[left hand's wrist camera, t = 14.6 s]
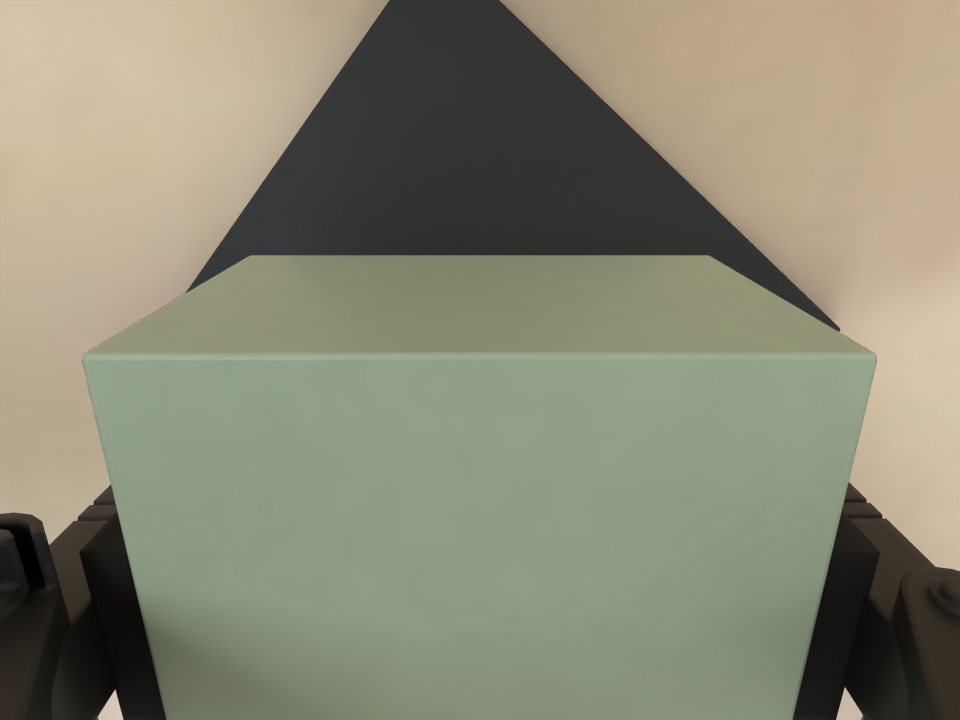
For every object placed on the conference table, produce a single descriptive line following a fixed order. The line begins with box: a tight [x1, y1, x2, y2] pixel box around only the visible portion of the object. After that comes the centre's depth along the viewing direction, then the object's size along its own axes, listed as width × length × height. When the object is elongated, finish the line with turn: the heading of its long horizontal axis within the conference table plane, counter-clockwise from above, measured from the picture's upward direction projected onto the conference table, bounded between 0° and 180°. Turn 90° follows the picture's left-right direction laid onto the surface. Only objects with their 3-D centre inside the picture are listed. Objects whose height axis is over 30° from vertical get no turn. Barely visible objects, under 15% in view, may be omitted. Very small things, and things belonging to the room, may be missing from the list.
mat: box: [185, 0, 840, 332], centre depth 18 cm, size 14×14×1 cm
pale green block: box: [82, 255, 877, 720], centre depth 10 cm, size 8×8×5 cm
